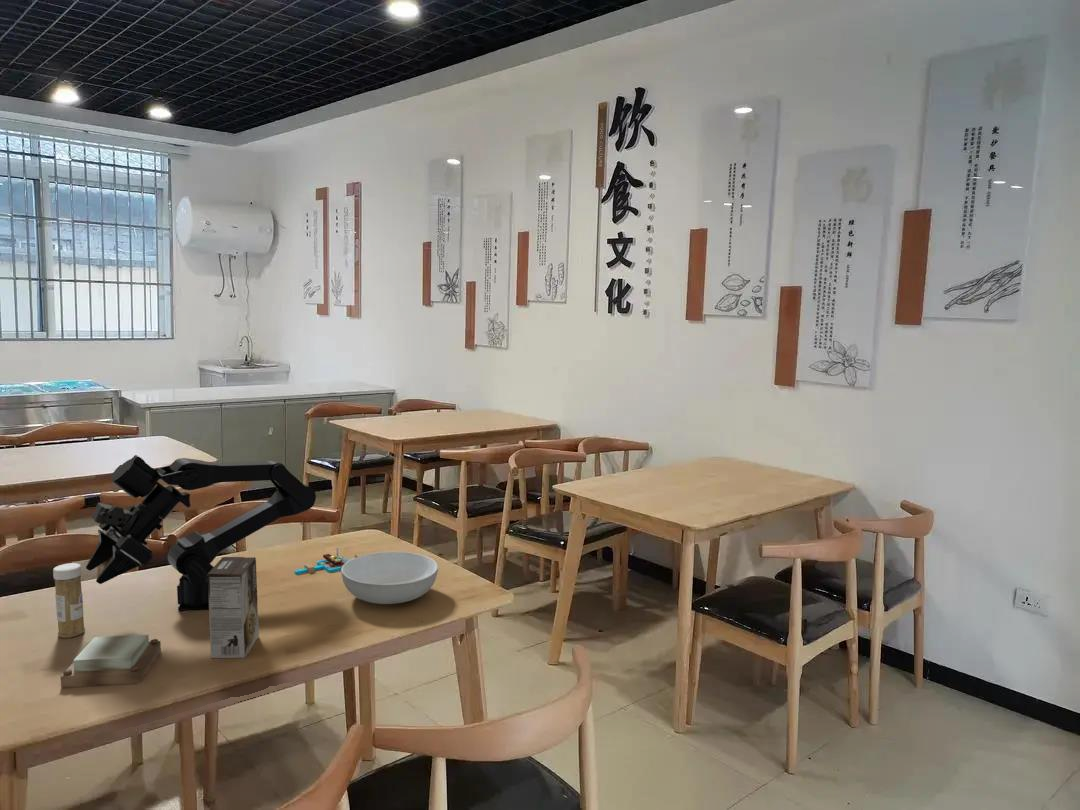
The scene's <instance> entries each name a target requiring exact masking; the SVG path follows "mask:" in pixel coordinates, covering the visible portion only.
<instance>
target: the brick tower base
mask: <svg viewBox="0 0 1080 810" xmlns="http://www.w3.org/2000/svg"><path fill="white" fill-rule="evenodd" d="M149 639H150V638H149V634H133V635H132V634H130V635H115V636H114V635H111V636H109V635H108V636H94V637H93V638H92V639H91V640H90V642H89V643H88V644H86V646H84V648H83V649H82V650H81V651H80V652H79V653H78V655H76V657H75V658H74V659H73V661H72V663H71V664H70V665H69V666H68V667H67V669H65V670H63V672H62V674H61V675H60V676H59V677H60V688H62V689H64V688H79V687H80V688H82V687H96V686H98V685H100V686H112V685H113V686H117V685H129V684H140V682H141V681H142V679H143V678H144V677H145V675H146V674H147V672H148V671H149V669H150V668H151V666H152V665H153V664H154V662H155V660H156V659H157V658H158V656H159V655H160V653H161V652H162V648H161V646H162V644H161V640H159V639H158V638H153V639H151V640H149Z"/></svg>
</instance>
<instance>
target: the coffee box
mask: <svg viewBox="0 0 1080 810" xmlns="http://www.w3.org/2000/svg"><path fill="white" fill-rule="evenodd" d="M213 566H214V567H213V569H212V570H211V571H210V572H209V573H208V574H207V575H208V595H209V609H208V616H209V617H208V618H209V620H208V621H209V641H210V642H209V643H210V645H209V646H210V658H211V659H235V658H236V659H242V658H243V659H244V658H247V655H248V654H249V653H250V651H251V649H252V648H253V646H254V644H255V643H256V642H257V639H258V638H259V635H260V634H259V633H260V631H259V609H258V607H259V606H258V584H257V583H258V581H257V559H256V557H255V556H254V557H250V556H249V557H245V556H223V557H221V558H220V559H219V560H218V562H216V564H215V565H213Z"/></svg>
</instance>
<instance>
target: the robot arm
mask: <svg viewBox="0 0 1080 810" xmlns="http://www.w3.org/2000/svg"><path fill="white" fill-rule="evenodd" d="M159 480H161V481H163V482H164V483H165V484H166V485H167V486H164V485H162V484H161V483H160V482H159ZM257 481H258V482H259V481H261V482H262V481H270V483H272V485H273V486H274V488H276V490H275V492H274V493H273V494H272V495H271V497H270V498H269V499H268V500H266V501H265V502H263V503H262V504H260V505H258V506H257V507H255V508H252V509H251V510H249V511H246V512H245V513H244V514H242V515H240V516H238V517H236V518H234V519H233V520H231V521H229V522H228V523H225V524H224V525H222V526H220V527H217V528H216V529H214V530H212V531H211V532H209V533H206V534H200V533H199V532H197V531H196V530H193V531H190V532H189V533H188V534H186V535H185V536H184V537H181V538H176V539H175V543H174V544H172V545H171V546H170V547H169V550H168V553H167V561H168V563H169V564H170V566H171V567H173V568H174V569H175V570H176V571H177V572H178V573H179V574H181V576H180V578H179V583H178V584H177V585H176V591H177V592H176V593H177V594H176V595H177V605H179V606H178V607H177V611H188V610H189V611H192V610H194V611H196V610H209V595H208V575H207V574H208V573H209V572H210V571H211V570H212V569H213V567H214V566H215V565H212V564H211V563H213V561H214V560H215V559H216V557H217V556H218V555H219V554H220V553H221V552H222V551H224V550H226V549H227V548H229V547H231V546H233V545H235V544H236V543H238V542H240V541H242V540H243V539H245V538H247V537H248V536H250V535H252V534H254V533H255V532H257V531H260V530H261V529H263V528H265V527H266V526H268V525H270V524H271V523H273V522H275V521H277V520H278V519H281V518H286V517H290V516H296V515H299V514H301V513H304V512H306V511H308V510H311V509H312V508H313V507H314V506H315V502H316V500H317V498H316V497H317V494H316V491H315V489H313V487H311V486H309V485H306V484H304V483H303V482H301V480H300V479H298V478H297V477H296V476H294V475H293V473H291V471H289V470H288V469H287V467H286V466H285V464H283V463H281V462H278V461H277V460H268V461H243V462H242V461H241V462H240V461H239V462H212V461H211V462H210V461H206V460H203V459H194V458H189V457H188V458H187V457H181V458H177V459H175V460H174V461H173V462H172V463H171V464H168V465H164V466H160V467H157V468H153V467H152V466H151V465H149V464H148V463H147V462H146V461H145V460H144V459H143V458H142V457H140V456H139V455H137V454H134V455H133V456H132V458H130V459H127V460H126V461H125V462H124V463H122V464H120V465H118V467H117V468H115V470H114V471H113V472H112V474H111V475H110V477H109V482H111V483H112V484H114V485H115V486H117V488H119V489H120V490H122V491H123V492H124V493H126V494H127V495H129V496H130V497H131V498H132V499H137V498H139V497H141V498H143V499H142V500H140V502H139V503H138V504H137V505H135V504H132V505H130V506H129V507H128V508H127V509H124V507H122V506H120V507H119V506H116V504H114V505H111V504H107V503H103V502H97V504H96V506H95V509H94V511H93V513H92V515H91V519H93V521H94V522H95V523H97V524H98V527H99V529H98V530H97V534H98V539H99V541H98V542H97V545H96V547H95V549H94V551H93V552H92V555H91V557H90V559H89V560H88V562H87V564H86V566H85V569H86V570H88V571H92V570H94V569H96V568H98V567H99V566H101V565H103V563H105V562H107V561H108V560H109V561H108V562H107V563H106V565H105V567H104V568H103V570H102V571H101V572H100V573H99V575H98V576H97V578H96V579H95V582H96V583H97V584H99V585H102V584H104V583H106V582H108V581H110V580H112V579H114V578H116V577H118V576H120V575H123V574H124V573H126V572H128V571H132V570H133V569H135V568H140V567H142V566H143V565H144V566H147V564H149V562H150V561H151V560H152V559H153V558H154V557H153V549H151V548H150V547H149V546H147V544H148V542H147V541H146V540H147V539H148V538H150V536H151V535H152V534H153V533H154V531H156V530H158V531H161V529H162V528H163V525H162V524H161V523H162V522H164V520H166V518H167V517H168V516H169V515H170V514H171V513H172V511H174V509H175V508H176V507H177V506H178V505H179V504H180V503H181V505H183V506H184V507H186V508H189V509H190V507H191V500H190V499H191V498H190V497H191V494H190V493H189V492H187V491H195V490H198V489H204V488H208V487H211V486H213V485H216V484H219V483H237V482H239V483H240V482H257ZM174 486H177V487H179V488H180V489H182V490H184V491H185V492H181V491H180V490H178V489H177V488H176V487H174Z"/></svg>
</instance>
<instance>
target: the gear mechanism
mask: <svg viewBox="0 0 1080 810" xmlns="http://www.w3.org/2000/svg"><path fill="white" fill-rule="evenodd" d="M363 555H364V554H362V553H356V554H354V558H356V557H359V556H363ZM322 557H323V558H324V559H320V560H317V561H316V565H315V566H314V565H312V564H311V563H306V564H304V568H300V569H296V570H294V574H295V575H301V574H305V573H308V574H312V573H315V571H321V570H324V571H326V572H327V573H335V572H339V571H340V572H341V568H342V566H343V565H344V564H345V563H346V562H348V561H349V560H351V559H352V558H349V559H347V558H345V557H344V556H339V547H336V556H335V555H331V554H330V553H325V554H323V555H322Z"/></svg>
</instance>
